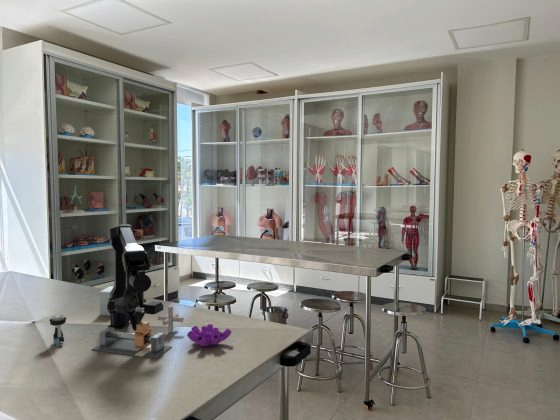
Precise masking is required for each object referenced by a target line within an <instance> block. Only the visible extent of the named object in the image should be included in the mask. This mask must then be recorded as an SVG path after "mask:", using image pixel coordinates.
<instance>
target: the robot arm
mask: <svg viewBox="0 0 560 420" xmlns="http://www.w3.org/2000/svg"><path fill="white" fill-rule="evenodd" d="M107 239H108V241H109V245H110V246H111V248H112V249H113V276H114V277H113V280H114V281H113V283H114V284H113V286H114V287H113V289H112V290H111V292H110V298H109V299H108V303H107V311H108V312H109V314H110V315H109V317H110V319H109V320H110V321H109V323H110V324H109V325H107V328H108V327H114V329H117V330H118V329H119V330H121V329H124V328H126V327H128V326H130V325H131V328H132V330H133V331H135V332H137V324H139V323H141V322H142V320H143V318H144V316H145V314H146V315H156V314H159V313H161V312H162V311H164V304H163V302H162V301H150V302H149V303H147V299H146V298H145V292H147V291H148V290H149V289H150V288H151V286H152V280H151V278H150V276H148V275H147V274H146V271H150V267H151V262H150V257H149V255H148V252H146V250H145V248H144V247H143V246H142V245H140V244H138V243H137V240H136V238H135V235H134V231H133V227H132V225H131V224H118V225H116V226H115V227H112V228H110V229H109V230H108V232H107Z"/></svg>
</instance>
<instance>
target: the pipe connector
mask: <svg viewBox="0 0 560 420" xmlns="http://www.w3.org/2000/svg"><path fill="white" fill-rule="evenodd" d="M167 307H168V309H167V311H168V312H167V315H157V321H162V325H163V326H167V325H168V327H167V329H168V330H167V331H168V333H173V332H174V322H175V323H176V322H177V323H183V322H184V320H185V318H184V317H183V316H179V313H178V312H175V313H174V306H173V305H168V306H167Z"/></svg>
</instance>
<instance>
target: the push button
mask: <svg viewBox="0 0 560 420" xmlns="http://www.w3.org/2000/svg"><path fill="white" fill-rule="evenodd" d="M48 321H49V323H50V325H51V326H53V327H54V333H53V335H52V336H53V337H52V338H53V339H52V340H53V343H52V344H53V346H55V345H56V346H57V347H60V346H61V347H62V346H64V342H65V337H64V333H63V331H62V326H63V325H64V324H66V321H67V317H65V316H64V315H63V314H55V315H53V316H52V317H51V318H50V319H49V320H48Z"/></svg>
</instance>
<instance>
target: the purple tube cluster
mask: <svg viewBox="0 0 560 420" xmlns="http://www.w3.org/2000/svg"><path fill="white" fill-rule="evenodd" d="M190 329H191V330H190V331H189V332H187V333H186V336H187V338H188V339H189V340H190V341H192V342H194V343H195V344H199V346H201V347H209V346H215V345H218V344H219V343H221V342H224V341H225V340H226V339H228V338H229V337H230V336H231V334H232V331H231V329H229V328H225V330H224V331H222V332H221V331H220V330H219V327H215V326H214V325H213V324H212V323H211V324H210V323H208V324H207V325H203V326H201V328H200V327H198V325H194V326H193V327H191V328H190Z"/></svg>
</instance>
